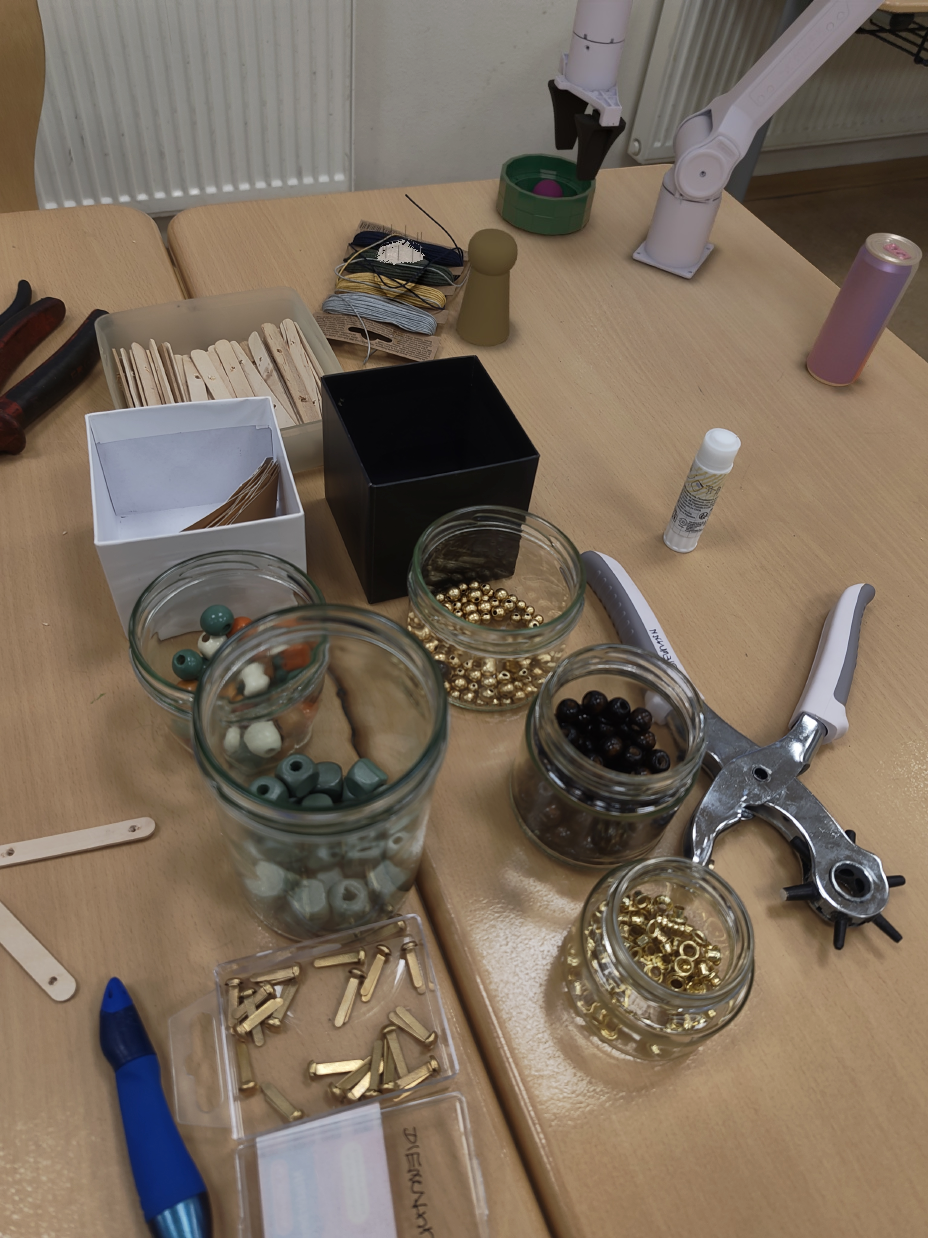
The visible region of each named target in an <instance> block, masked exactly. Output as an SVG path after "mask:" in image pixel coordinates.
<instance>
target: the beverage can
mask: <svg viewBox="0 0 928 1238" xmlns="http://www.w3.org/2000/svg"><path fill="white" fill-rule="evenodd" d="M922 258H923V251H922V249H921V248H920V247H919V246H918V245H917V244H916V243H915V242H913V241H912V240H910V239H908V238H906V237H903V236H902V235H899V234H898V235H897V234H894V233H889V232H875V233H871V234H870V235H869V236H867V238H866V239H865V242H864V243H863V244H862V245H861V246H860V247H859V250H858V252H857V253H856V255H855V257H854V259H853V262H852V264H851V266H850V268H849V270H848V273H847V274H846V277H845V278H844V280H843V283H842V285H841V287H840V289H839V291H838V293H837V295H836V297H835V299H834V301H833V304H832V306H831V307H830V310H829V312H828V314H827V316H826V318H825V320H824V322H823V324H822V326H821V328H820V330H819V333H818V335H817V337H816V339H815V341H814V343H813V345H812V347H811V349H810V351H809V354H808V356H807V358H806V367H807V370H808V372H809V374H810V375H811V376H812V377H813V378H814V379H815V380H817V381H819V382H820V383H822V384H824V385H828V386H832V387H846V386H848V385H851V384H853V383H854V382H855V381H858V379H859V378H860V376H861V374H862V371H863V370H864V368H865V366H866V364H867V363H868V360H869V359H870V357H871V356H872V354H873V352H874V350H875V349H876V346H877V344H878V342H879V340H880V339H881V337H882V335H883V334H884V332H885V330H886V328H887V326H888V325H889V323H890V320H891V318H892V317H893V315H894V313H895V311H896V309H897V308H898V306H899V304H900V302H901V301H902V298H903V297H904V295H905V293H906V291H907V290H908V288H909V286H910V284H911V282H912V280H913V279H914V277H915V275H916V273H917V271H918V269H919V266H920V261H921V259H922Z"/></svg>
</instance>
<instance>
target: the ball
mask: <svg viewBox="0 0 928 1238" xmlns="http://www.w3.org/2000/svg"><path fill="white" fill-rule="evenodd" d="M532 193H533V194H536V195H540V196H547V197H553V198H561V197H563V194H562V189H561V187H560V186H559V184H558V183H556V182H555V181H553V180H543V181H541V182H539V183H538V184H537V185H536V186H535V187H534V189H533V192H532Z"/></svg>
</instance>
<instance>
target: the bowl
mask: <svg viewBox="0 0 928 1238" xmlns="http://www.w3.org/2000/svg"><path fill="white" fill-rule="evenodd" d="M576 165H577V160H572V159H570V158H567V157H564V156H561V155H555V154H549V153H541V152H540V153H539V152H538V153H523V154H520V155H516V156H513V157H510V158H509V159H507V160H506V161H505V162H504V163H502V165H501V169H500V176H499V183H498V191H497V200H496V206H495V208H496V210H497V211H498V212H499V215H500V216H501V218H502V219H504V220H506V221H507V222H508V223H510V224H511V225H513V226H514V227H516V228H519V229H522V230H525V231H527V232H530V233H534V234H541V235H547V236H553V235H567V234H571V233H574V232H577V231H579V230H582V229H583V228H584V227H585V226H586V225H587V224H588V223H589V221H590V215H591V211H592V206H593V203H594V198H595V193H596V188H597V177H596V178H595V179H594V180H589V181H579V180H578V179H577V175H576ZM543 180H553V181H555V182H556V183H558V184H559V186H560V187H561V189H562V194H563V197H561V198H553V197H547V196H540V195H536V194H533V193H532V192H533V189H534V187H535V186H536V185H537V184H538V183H539V182H541V181H543Z"/></svg>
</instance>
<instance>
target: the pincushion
mask: <svg viewBox="0 0 928 1238" xmlns="http://www.w3.org/2000/svg"><path fill="white" fill-rule="evenodd" d="M390 225H391V226H390V240H392V238H393V237H392V236H393V235H392V234H393V232H392V230H393V224H390ZM404 228H405V230H404V239H407V238H406V236H407V234H406V233H407V225H405V227H404ZM422 236H423V232H422V231H421V232H420V239H422ZM384 237H385V238H384ZM416 237H417V238H416V244H418V241H419V240H418V239H419V233H417V235H416ZM384 240H385V241H384ZM401 240H402V241H399V240H397V241H398V242H396V243H393V241H391V242H392V244H389V245H386V246H382V245H383V244H385V243H388V242H387V235H385V225H383V226H382V245H381V246H382V247H381V246H380V248H379V249H378V250H379V252H378V251H377V252H378V255H380V256H378V255H377V256H378V257H377V258H378V259H377V260H381V261H383V260H384V261H385V262H386V261H388V260H389V261H388V262H386V263H389V262H390V263H391V262H392V263H393V265H395V264H396V263H401V262H402V263H404V262H407V263H408V262H410V263H411V262H412V263H414V262H417V261H420V260H423V256H425V255H424V254H423V253H422V254H423V255H422V254H421V248H422V244H418V245H420V252H417V251H418V250H416V249H413V248H414V247H413V246H412V247H413V248H412V247H411V248H410V246H411V245H410V246H409V244H410V243H409V242H408V241H407V242H406V243H405V244H404V245H402V243H404V242H405V240H403V239H401ZM384 242H385V243H384ZM399 242H400V243H399ZM413 244H414V241H413ZM408 246H409V247H408ZM392 247H393V248H392ZM383 250H385V251H383ZM415 250H416V251H415ZM383 252H384V253H383ZM382 253H383V254H382ZM381 261H380V262H381ZM385 262H384V263H385Z"/></svg>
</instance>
